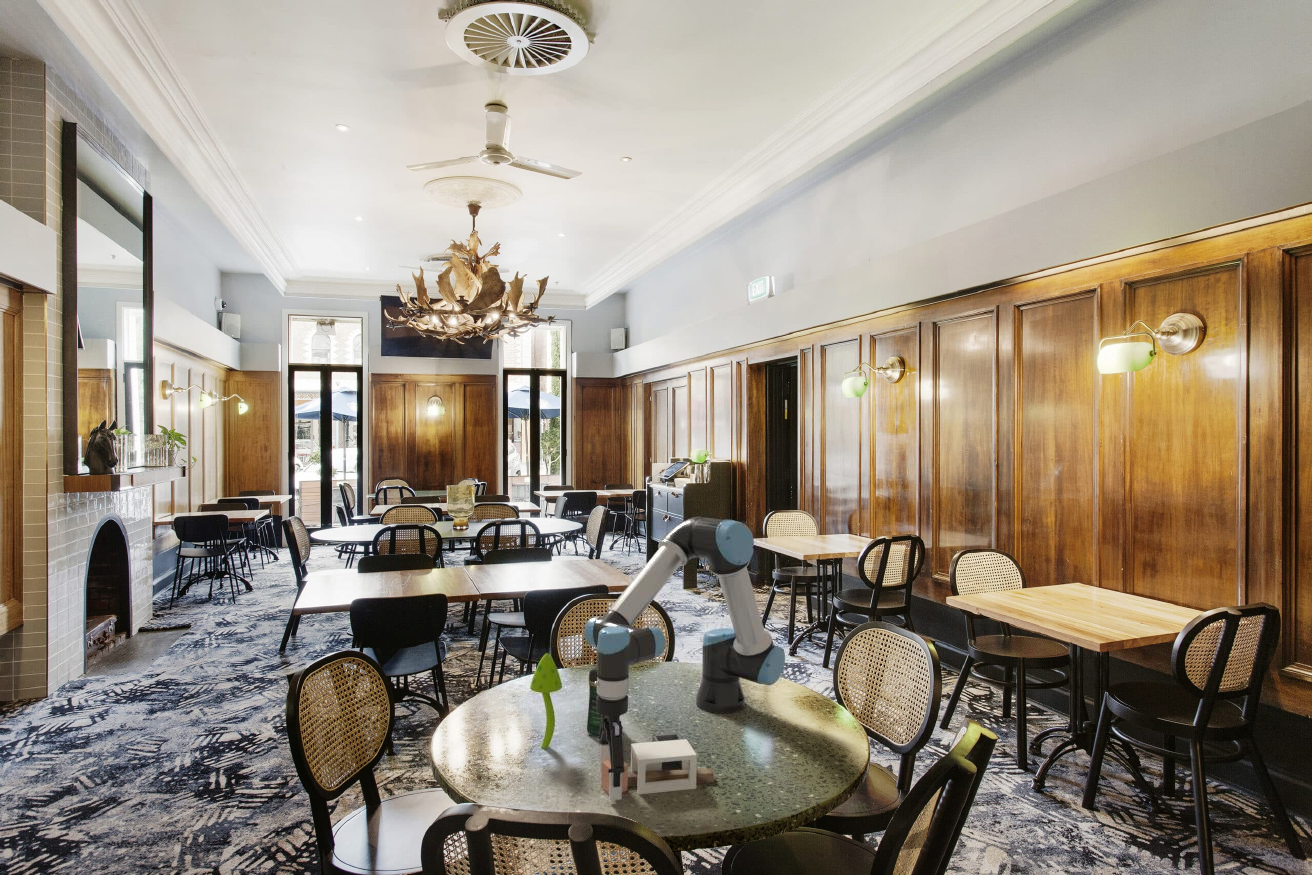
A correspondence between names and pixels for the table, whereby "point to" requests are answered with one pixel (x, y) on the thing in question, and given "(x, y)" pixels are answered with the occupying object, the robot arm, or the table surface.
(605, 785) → the block
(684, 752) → the tunnel
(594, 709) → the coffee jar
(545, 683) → the mushroom
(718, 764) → the table surface
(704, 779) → the rod
